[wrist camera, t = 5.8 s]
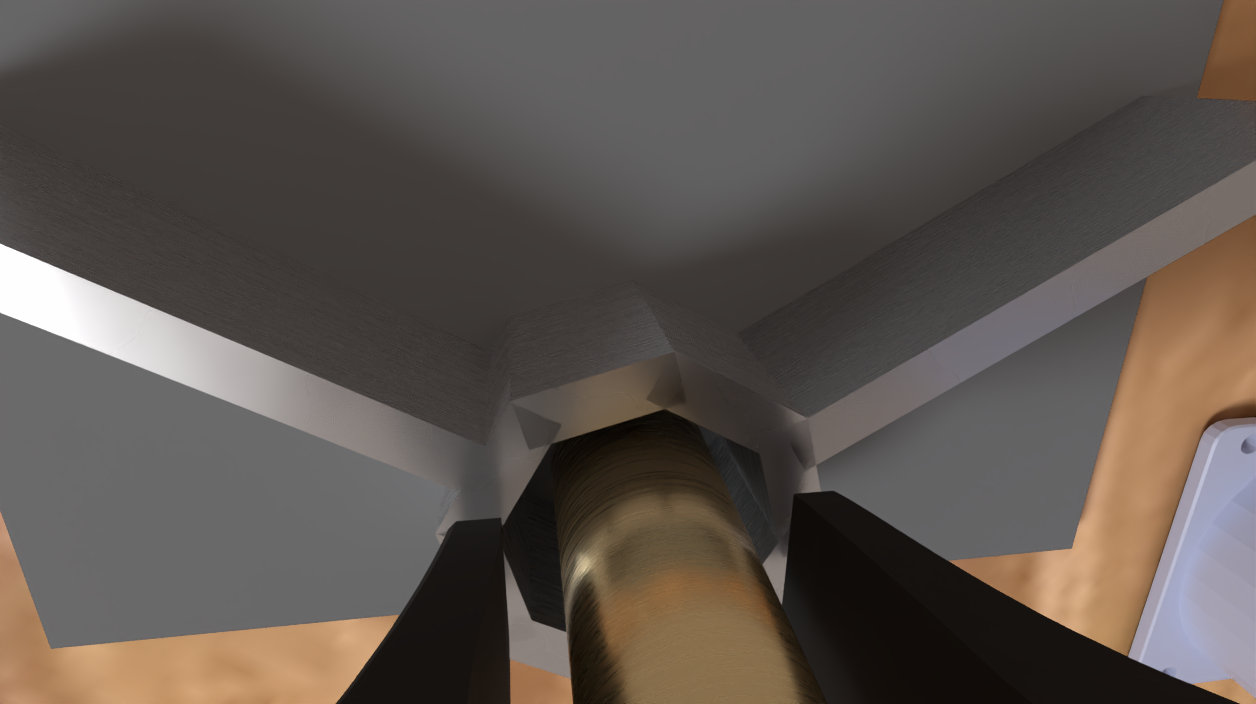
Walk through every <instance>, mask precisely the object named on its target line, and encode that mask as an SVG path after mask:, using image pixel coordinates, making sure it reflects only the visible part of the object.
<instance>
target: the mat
mask: <svg viewBox="0 0 1256 704" xmlns="http://www.w3.org/2000/svg"><path fill="white" fill-rule="evenodd" d="M1223 1H1224V0H0V124H2V125H4V126H6V127H8V128H11V129H13V130H15V131H17V132H19V133H21V134H23V135H26V136H28V137H30V138H32V139H34V140H36V141H39V142H41V143H43V144H45V145H47V146H49V147H52V148H54V149H56V150H58V151H60V152H62V153H64V154H67V155H69V156H71V157H73V158H75V159H77V160H80V161H82V162H84V163H86V164H88V165H90V166H93V167H95V168H97V169H99V170H101V171H103V172H106V173H108V174H110V175H112V176H114V177H116V178H118V179H121V180H123V181H125V182H127V183H129V184H131V185H134V186H136V187H138V188H140V189H142V190H144V191H147V192H149V193H151V194H153V195H155V196H157V197H159V198H162V199H164V200H166V201H168V202H170V203H172V204H175V205H177V206H179V207H181V208H183V209H185V210H188V211H190V212H192V213H194V214H196V215H198V216H200V217H203V218H205V219H207V220H209V221H211V222H213V223H216V224H218V225H220V226H222V227H224V228H226V229H229V230H231V231H233V232H235V233H237V234H239V235H241V236H244V237H246V238H248V239H250V240H252V241H254V242H257V243H259V244H261V245H263V246H265V247H267V248H270V249H272V250H274V251H276V252H278V253H280V254H282V255H285V256H287V257H289V258H291V259H293V260H295V261H298V262H300V263H302V264H304V265H306V266H308V267H311V268H313V269H315V270H317V271H319V272H321V273H323V274H326V275H328V276H330V277H332V278H334V279H336V280H339V281H341V282H343V283H345V284H347V285H349V286H352V287H354V288H356V289H358V290H360V291H362V292H364V293H367V294H369V295H371V296H373V297H375V298H377V299H380V300H382V301H384V302H386V303H388V304H390V305H393V306H395V307H397V308H399V309H401V310H403V311H405V312H408V313H410V314H412V315H414V316H416V317H418V318H421V319H423V320H425V321H427V322H429V323H431V324H434V325H436V326H438V327H440V328H442V329H444V330H447V331H449V332H451V333H453V334H455V335H457V336H459V337H462V338H464V339H466V340H468V341H470V342H472V343H475V344H477V345H479V346H481V347H483V348H485V349H488V350H490V351H491V350H492V348H493V346H494V344H495V342H496V340H497V339H498V337H499V335H500V333H501V331H502V329H503V328H504V326H505V324H506V322H507V320H508V318H509V317H510V316H511V315H515V314H518V313H521V312H525V311H528V310H531V309H535V308H538V307H541V306H545V305H548V304H552V303H555V302H558V301H562V300H565V299H568V298H572V297H575V296H578V295H582V294H585V293H588V292H592V291H595V290H599V289H602V288H605V287H609V286H612V285H615V284H619V283H622V282H625V281H629V280H632V279H633V280H636V281H638V282H639V283H641V284H643V285H645V286H647V287H649V288H651V289H653V290H654V291H656V292H658V293H660V294H662V295H664V296H666V297H668V298H669V299H671V300H673V301H675V302H677V303H679V304H681V305H683V306H685V307H686V308H688V309H690V310H692V311H694V312H696V313H698V314H700V315H701V316H703V317H705V318H707V319H709V320H711V321H713V322H715V323H716V324H718V325H720V326H722V327H724V328H726V329H728V330H730V331H732V332H733V333H735V334H737V333H739V332H741V331H742V330H744V329H746V328H747V327H749V326H751V325H752V324H754V323H756V322H758V321H759V320H761V319H763V318H764V317H766V316H768V315H769V314H771V313H773V312H775V311H776V310H778V309H780V308H781V307H783V306H785V305H787V304H788V303H790V302H792V301H793V300H795V299H797V298H798V297H800V296H802V295H804V294H805V293H807V292H809V291H810V290H812V289H814V288H815V287H817V286H819V285H821V284H822V283H824V282H826V281H827V280H829V279H831V278H832V277H834V276H836V275H838V274H839V273H841V272H843V271H844V270H846V269H848V268H850V267H851V266H853V265H855V264H856V263H858V262H860V261H861V260H863V259H865V258H867V257H868V256H870V255H872V254H873V253H875V252H877V251H878V250H880V249H882V248H884V247H885V246H887V245H889V244H890V243H892V242H894V241H895V240H897V239H899V238H901V237H902V236H904V235H906V234H907V233H909V232H911V231H913V230H914V229H916V228H918V227H919V226H921V225H923V224H924V223H926V222H928V221H930V220H931V219H933V218H935V217H936V216H938V215H940V214H941V213H943V212H945V211H947V210H948V209H950V208H952V207H953V206H955V205H957V204H958V203H960V202H962V201H964V200H965V199H967V198H969V197H970V196H972V195H974V194H975V193H977V192H979V191H981V190H982V189H984V188H986V187H987V186H989V185H991V184H993V183H994V182H996V181H998V180H999V179H1001V178H1003V177H1004V176H1006V175H1008V174H1010V173H1011V172H1013V171H1015V170H1016V169H1018V168H1020V167H1021V166H1023V165H1025V164H1027V163H1028V162H1030V161H1032V160H1033V159H1035V158H1037V157H1038V156H1040V155H1042V154H1044V153H1045V152H1047V151H1049V150H1050V149H1052V148H1054V147H1056V146H1057V145H1059V144H1061V143H1062V142H1064V141H1066V140H1067V139H1069V138H1071V137H1073V136H1074V135H1076V134H1078V133H1079V132H1081V131H1083V130H1084V129H1086V128H1088V127H1090V126H1091V125H1093V124H1095V123H1096V122H1098V121H1100V120H1101V119H1103V118H1105V117H1107V116H1108V115H1110V114H1112V113H1113V112H1115V111H1117V110H1119V109H1120V108H1122V107H1124V106H1125V105H1127V104H1129V103H1130V102H1132V101H1134V100H1136V99H1137V98H1139V97H1141V96H1160V97H1181V98H1197V94H1198V91H1199V87H1200V84H1201V80H1202V76H1203V73H1204V69H1205V66H1206V62H1207V58H1208V55H1209V51H1210V48H1211V44H1212V40H1213V37H1214V33H1215V30H1216V26H1217V22H1218V19H1219V15H1220V11H1221V8H1222V4H1223ZM1146 279H1147V277H1145V278H1144V279H1142V280H1140V281H1138V282H1137V283H1135V284H1133V285H1131V286H1130V287H1128V288H1126V289H1124V290H1123V291H1121V292H1119V293H1117V294H1116V295H1114V296H1112V297H1110V298H1109V299H1107V300H1105V301H1103V302H1102V303H1100V304H1098V305H1096V306H1094V307H1093V308H1091V309H1089V310H1087V311H1086V312H1084V313H1082V314H1080V315H1079V316H1077V317H1075V318H1073V319H1072V320H1070V321H1068V322H1066V323H1065V324H1063V325H1061V326H1059V327H1058V328H1056V329H1054V330H1052V331H1051V332H1049V333H1047V334H1045V335H1044V336H1042V337H1040V338H1038V339H1037V340H1035V341H1033V342H1031V343H1030V344H1028V345H1026V346H1024V347H1023V348H1021V349H1019V350H1017V351H1016V352H1014V353H1012V354H1010V355H1009V356H1007V357H1005V358H1003V359H1002V360H1000V361H998V362H996V363H995V364H993V365H991V366H989V367H988V368H986V369H984V370H982V371H981V372H979V373H977V374H975V375H974V376H972V377H970V378H968V379H967V380H965V381H963V382H961V383H960V384H958V385H956V386H954V387H953V388H951V389H949V390H947V391H945V392H944V393H942V394H940V395H938V396H937V397H935V398H933V399H931V400H930V401H928V402H926V403H924V404H923V405H921V406H919V407H917V408H916V409H914V410H912V411H910V412H909V413H907V414H905V415H903V416H902V417H900V418H898V419H896V420H895V421H893V422H891V423H889V424H888V425H886V426H884V427H882V428H881V429H879V430H877V431H875V432H874V433H872V434H870V435H868V436H867V437H865V438H863V439H861V440H860V441H858V442H856V443H854V444H853V445H851V446H849V447H847V448H846V449H844V450H842V451H840V452H839V453H837V454H835V455H833V456H832V457H830V458H828V459H826V460H825V461H823V462H821V463H819V464H818V465H816V467H817V472H818V478H819V483H820V489H821V492H822V491H835V492H837V493H839V494H841V495H843V496H845V497H846V498H848V499H850V500H852V501H853V502H855V503H857V504H858V505H860V506H861V507H863V508H865V509H866V510H868V511H869V512H871V513H873V514H874V515H876V516H877V517H879V518H881V519H882V520H884V521H885V522H887V523H888V524H890V525H892V526H893V527H895V528H896V529H898V530H899V531H901V532H903V533H904V534H906V535H907V536H909V537H910V538H912V539H914V540H915V541H917V542H918V543H920V544H922V545H923V546H925V547H926V548H928V549H930V550H931V551H933V552H934V553H936V554H938V555H939V556H941V557H942V558H944V559H946V560H947V561H949V560H959V559H970V558H980V557H990V556H1000V555H1010V554H1021V553H1031V552H1041V551H1051V550H1061V549H1071V548H1072V546H1073V542H1074V538H1075V535H1076V531H1077V528H1078V524H1079V520H1080V517H1081V513H1082V509H1083V506H1084V502H1085V499H1086V495H1087V491H1088V488H1089V484H1090V481H1091V477H1092V473H1093V470H1094V466H1095V463H1096V459H1097V455H1098V452H1099V448H1100V445H1101V441H1102V437H1103V434H1104V430H1105V426H1106V423H1107V419H1108V416H1109V412H1110V408H1111V405H1112V401H1113V398H1114V394H1115V390H1116V387H1117V383H1118V380H1119V376H1120V372H1121V369H1122V365H1123V362H1124V358H1125V354H1126V351H1127V347H1128V343H1129V340H1130V336H1131V333H1132V329H1133V325H1134V322H1135V318H1136V315H1137V311H1138V307H1139V304H1140V300H1141V297H1142V293H1143V289H1144V286H1145V282H1146ZM697 425H698V424H697ZM698 427H699V429H700V431H701V433H702V435H703V437H704V439H705V441H706V444H707V446H708V448H709V446H710V445H711V443H712V442H713V440H714V439H715V437H716V436H717V433H715V432H713V431H711V430H709V429H707V428H705V427H702V426H700V425H698ZM555 444H556V442H555V443H552V444H551V445H550V447H549V448H548V450H547V452H546V453H545V455H544V457H543V459H542V460H541V462H540V464H539V465H538V467H537V469H536V470H535V472H534V474H533V475H532V477H531V479H530V481H529V482H528V484H527V486H526V487H525V491H526V493H528V494H530V495H532V496H535V497H537V498H540V499H542V500H545V501H547V502H550V503H552V504H554V493H553V482H552V472H551V459H552V454H553V449H554V446H555ZM442 489H443V486H442V485H440V484H437V483H434V482H432V481H429V480H427V479H424V478H422V477H419V476H417V475H414V474H411V473H409V472H406V471H404V470H401V469H399V468H396V467H394V466H391V465H389V464H386V463H383V462H381V461H378V460H376V459H373V458H371V457H368V456H366V455H363V454H360V453H358V452H355V451H353V450H350V449H348V448H345V447H343V446H340V445H337V444H335V443H332V442H330V441H327V440H325V439H322V438H320V437H317V436H315V435H312V434H309V433H307V432H304V431H302V430H299V429H297V428H294V427H292V426H289V425H286V424H284V423H281V422H279V421H276V420H274V419H271V418H269V417H266V416H264V415H261V414H258V413H256V412H253V411H251V410H248V409H246V408H243V407H241V406H238V405H235V404H233V403H230V402H228V401H225V400H223V399H220V398H218V397H215V396H213V395H210V394H207V393H205V392H202V391H200V390H197V389H195V388H192V387H190V386H187V385H184V384H182V383H179V382H177V381H174V380H172V379H169V378H167V377H164V376H162V375H159V374H156V373H154V372H151V371H149V370H146V369H144V368H141V367H139V366H136V365H133V364H131V363H128V362H126V361H123V360H121V359H118V358H116V357H113V356H111V355H108V354H105V353H103V352H100V351H98V350H95V349H93V348H90V347H88V346H85V345H82V344H80V343H77V342H75V341H72V340H70V339H67V338H65V337H62V336H59V335H57V334H54V333H52V332H49V331H47V330H44V329H42V328H39V327H37V326H34V325H31V324H29V323H26V322H24V321H21V320H19V319H16V318H14V317H11V316H8V315H6V314H3V313H1V312H0V511H1V514H2V516H3V519H4V522H5V525H6V527H7V530H8V533H9V536H10V538H11V541H12V544H13V547H14V549H15V552H16V555H17V557H18V560H19V563H20V566H21V568H22V571H23V574H24V577H25V579H26V582H27V585H28V587H29V590H30V593H31V596H32V598H33V601H34V604H35V607H36V609H37V612H38V615H39V617H40V620H41V623H42V626H43V628H44V631H45V634H46V637H47V639H48V642H49V645H50V647H51V649H53V648H63V647H73V646H84V645H94V644H104V643H114V642H124V641H135V640H145V639H155V638H165V637H175V636H185V635H196V634H206V633H216V632H226V631H236V630H247V629H257V628H267V627H277V626H287V625H297V624H308V623H318V622H328V621H338V620H348V619H359V618H369V617H379V616H389V615H399V614H401V612H402V611H403V609H404V608H405V606H406V604H407V603H408V601H409V600H410V598H411V597H412V595H413V593H414V592H415V590H416V589H417V587H418V585H419V584H420V582H421V580H422V578H423V577H424V575H425V573H426V572H427V570H428V568H429V566H430V564H431V563H432V561H433V559H434V557H435V555H436V553H437V551H438V549H439V547H440V543H439V541H438V539H437V537H436V528H437V521H438V515H439V508H440V502H441V496H442Z"/></svg>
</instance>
